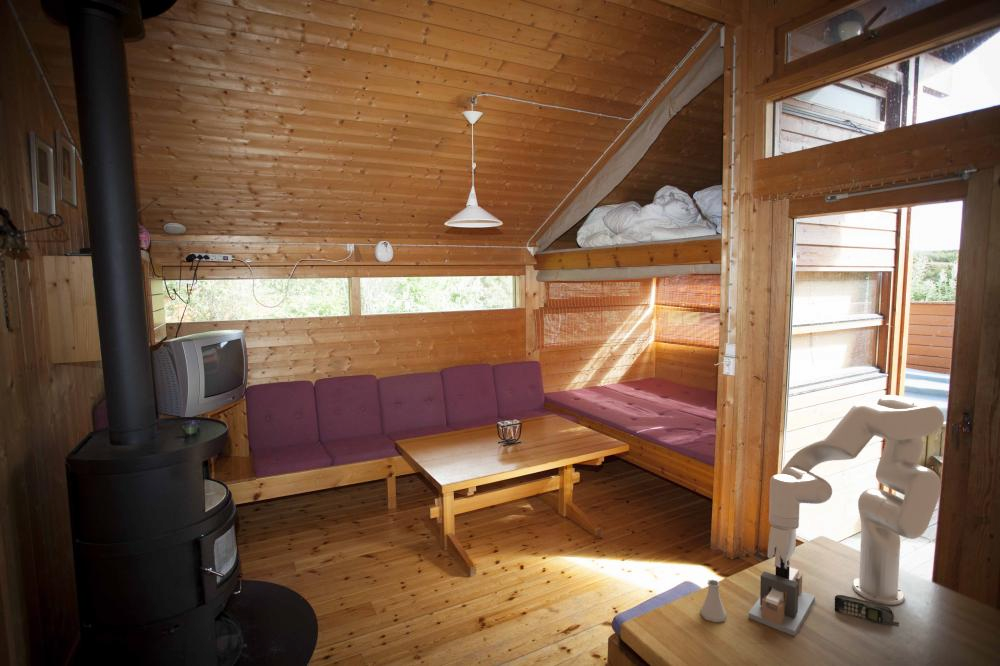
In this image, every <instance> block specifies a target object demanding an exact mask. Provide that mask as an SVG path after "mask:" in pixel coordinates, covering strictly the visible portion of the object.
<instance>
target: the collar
mask: <svg viewBox="0 0 1000 666" xmlns="http://www.w3.org/2000/svg"><path fill="white" fill-rule="evenodd" d="M772 587H774V588H777V589H779V590H782V591H785V592H786V602H785V613H784V614H786V615H789V616H791V617H794V618H795V616H796V614H797V613H798V582H795V581H792V580H789V579H786V578H783V577H780V576H777V575H776V574H773V573H771V572H769V571H763V572H762V573H761V575H760V592H759V593H760V594H759V595H760V596H759V598H760V605H762V599H763V598H764V596H765V595H768V594H769V593H770V591H771V590H772Z"/></svg>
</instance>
